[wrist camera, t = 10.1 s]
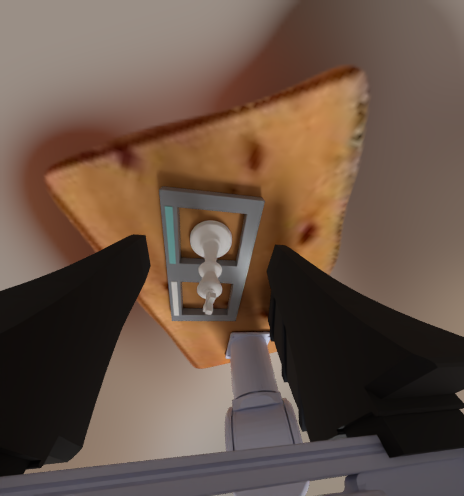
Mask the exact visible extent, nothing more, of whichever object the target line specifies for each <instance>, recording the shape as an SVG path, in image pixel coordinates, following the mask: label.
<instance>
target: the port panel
mask: <svg viewBox="0 0 464 496" xmlns="http://www.w3.org/2000/svg"><path fill="white" fill-rule="evenodd" d="M159 195H160V205H161V215H162V225H163V235H164V245H165V255H166V265H167V275H168V285H169V295H170V306H171V316H172V321H236V317H237V313H238V309H239V305H240V301H241V297H242V292H243V288H244V284H245V280H246V276H247V272H248V268H249V264H250V260H251V256H252V252H253V248H254V243H255V239H256V235H257V231H258V227H259V223H260V219H261V215H262V211H263V207H264V203H265V201H264V199H263V198H262V197H253V196H245V195H236V194H227V193H218V192H209V191H200V190H192V189H183V188H174V187H165V186H162V187H161V188H160V189H159ZM179 207H181V208H191V209H202V210H212V211H222V212H232V213H243V214H245V215H244V221H243V226H242V232H241V237H240V242H239V248H238V253H237V258H236V261H235V260H216V262H217V263H219V264H220V265H221V267H222V273H221V275H220V276H219V277H218V280H219V282H220V283H232V285H231V290H230V296H229V301H228V306H227V309H213V312H212V314H211V315H208V314H205V312H203V309H200V308H183V296H182V282H200V281H201V280H202V277H201V276H200V274H199V270H198V269H199V266H200V265H201V264H202V263H204V262H205V259H199V258H181V242H180V215H179Z"/></svg>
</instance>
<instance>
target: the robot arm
mask: <svg viewBox="0 0 464 496" xmlns="http://www.w3.org/2000/svg"><path fill="white" fill-rule="evenodd" d="M150 266H151V265H150V259H149V253H148V247H147V241H146V235H134V234H133V235H130V236H128V237H126V238H124V239H122V240H120V241H118V242H116V243H114V244H112V245H110V246H108V247H106V248H104V249H103V250H101V251H99V252H97V253H95V254H93V255H91V256H88V257H86V258H84V259H82V260H80V261H78V262H76V263H73V264H71V265H69V266H67V267H64V268H62V269H60V270H57V271H55V272H52V273H50V274H47V275H45V276H42V277H40V278H37V279H34V280H31V281H29V282H26V283H23V284H20V285H17V286H14V287H11V288H8V289H5V290H2V291H0V496H213V495H219V494H226V493H233V495H234V496H305V495H306V492H307V490H308V487H309V481H314V480H321V479H327V478H334V477H341V476H347V477H346V478H345V489H344V491H343V492H341V493H332V494H324V495H317V496H464V414H463V413H462V412H461V411H460V410H459V409H462V408H464V403H463V402H462V401H461V400H460V399H459V398H458V396H457V395H456V394H455V393H457V392H459V391H461V390H463V389H464V337H462V336H459V335H456V334H454V333H451V332H449V331H446V330H443V329H441V328H438V327H435V326H433V325H430V324H427V323H425V322H422V321H419V320H417V319H415V318H412V317H410V316H408V315H405V314H403V313H400V312H398V311H395V310H394V309H391V308H389V307H387V306H385V305H382V304H380V303H378V302H376V301H374V300H372V299H370V298H368V297H366V296H364V295H362V294H360V293H358V292H356V291H355V290H353V289H351V288H349V287H348V286H346V285H344V284H342V283H340V282H339V281H337V280H335V279H334V278H332V277H331V276H329V275H328V274H326V273H325V272H323V271H322V270H320V269H319V268H317V267H316V266H314V265H313V264H311V263H310V262H309V261H307V260H306V259H304V258H303V257H302V256H300V255H299V254H298V253H296V252H295V251H293V250H292V249H290V248H289V247H287V246H285V245H275V247H274V250H273V253H272V256H271V259H270V262H269V265H268V269H267V275H268V280H269V284H270V287H271V290H272V293H273V296H274V298H275V301H276V304H277V306H278V309H279V312H280V314H281V317H282V319H283V322H284V325H285V329H286V332H287V336H288V340H289V344H290V348H291V352H292V356H293V360H294V364H295V369H296V374H297V379H298V384H299V388H300V394H301V399H302V405H303V410H304V416H305V422H306V429H307V433H308V436H309V439H310V442H308V443H303V442H302V439H301V434H300V431H299V427H298V423H297V420H296V417H295V413H294V410H293V407H292V405H291V403H290V402H289V401H288V400H287V399H286V398H281V394H280V392H279V391H278V387H277V384H276V379H275V375H274V371H273V367H272V363H271V359H270V355H269V351H268V347H267V345H268V342H269V340H270V332H232V333H231V335H230V339H229V343H228V347H227V352H226V358H227V359H230V362H231V375H232V389H233V394H234V400H232V407H230V408H229V409H228V411H227V413H226V417H225V443H226V452H218V453H210V454H200V455H191V456H182V457H173V458H164V459H155V460H146V461H138V462H128V463H119V464H111V465H102V466H93V467H84V468H75V469H66V470H57V471H48V472H39V473H30V474H24V472H25V470H26V469H36V468H41V467H42V466H43V465H45V464H54V463H63V462H68V461H69V460H71V459H72V458H73V457H74V456H75V455H76V454H77V453H78V452H79V451H80V450H81V449H82V447H83V443H84V440H85V436H86V433H87V429H88V426H89V423H90V420H91V416H92V413H93V410H94V407H95V403H96V400H97V397H98V394H99V391H100V388H101V385H102V382H103V379H104V376H105V373H106V370H107V367H108V365H109V361H110V359H111V356H112V353H113V351H114V348H115V345H116V342H117V340H118V337H119V335H120V332H121V330H122V327H123V325H124V323H125V321H126V319H127V316H128V315H129V313H130V311H131V309H132V307H133V305H134V303H135V301H136V299H137V297H138V295H139V293H140V291H141V289H142V287H143V285H144V283H145V281H146V278H147V275H148V272H149V269H150Z"/></svg>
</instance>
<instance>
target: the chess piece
mask: <svg viewBox="0 0 464 496" xmlns="http://www.w3.org/2000/svg"><path fill="white" fill-rule="evenodd" d="M190 244H191V247H192V249H193V250H194V252H195V253H197V254H198V255H199V256H201V257H204V258H205V262H204V263H202V264H201V265H200V266H199V269H198V270H199V274H200V276H201V277H202V280H201V281H200V283H199V285H198V287H197V293H198V294H199V296H201V297H202V298H205V299H206V302H205V304H204V306H203V312H205V314H208V315H211V314H212V312H213V303H214V301H215V299H216V297H218V296H219V295H220V294H221V293H222V286H221V283H220V282H219V280H218V277H219V276H220V275H221V273H222V267H221V265H220V264H219V263H217V262H216V260H217V258H219V257H221V256H223V255H225V254H226V253H227V252H228V251H229V249H230V247H231V244H232V235H231V232H230V230H229V229H228V227H227V226H225V225H224V224H223V223H221V222H218V221H213V220H208V221H203V222H201V223H199V224H197V225H196V226H195V227H194V228H193V230H192V231H191V234H190Z"/></svg>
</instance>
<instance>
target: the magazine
mask: <svg viewBox="0 0 464 496" xmlns="http://www.w3.org/2000/svg"><path fill="white" fill-rule="evenodd" d="M268 322H269V326H270V339H271V341H274V342H275V345H276V349H277V352H278V355H279V358H280V361H281V364H282V377H283V380H284V382H288V383H289V386H290V389H291V391H292V394H293V397H294V400H295V402H296V404H297V407H298V409H299V424H300V427H301V430H302V431H303V432H304V431H307V429H306V422H305V416H304V410H303V405H302V399H301V394H300V388H299V384H298V379H297V374H296V369H295V364H294V360H293V356H292V352H291V348H290V344H289V340H288V336H287V332H286V329H285V325H284V322H283V319H282V317H281V314H280V312H279V309H278V306H277V304H276V301H275V298H274V296H273V293H272V290H271V298H270V308H269V317H268Z"/></svg>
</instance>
